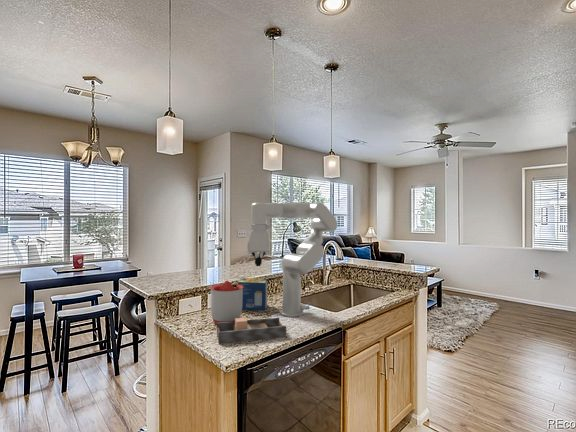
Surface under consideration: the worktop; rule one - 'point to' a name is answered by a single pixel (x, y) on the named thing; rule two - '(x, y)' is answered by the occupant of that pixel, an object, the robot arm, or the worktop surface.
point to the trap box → (250, 330)
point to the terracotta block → (240, 323)
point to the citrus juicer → (226, 302)
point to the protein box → (254, 294)
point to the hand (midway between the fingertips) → (258, 265)
